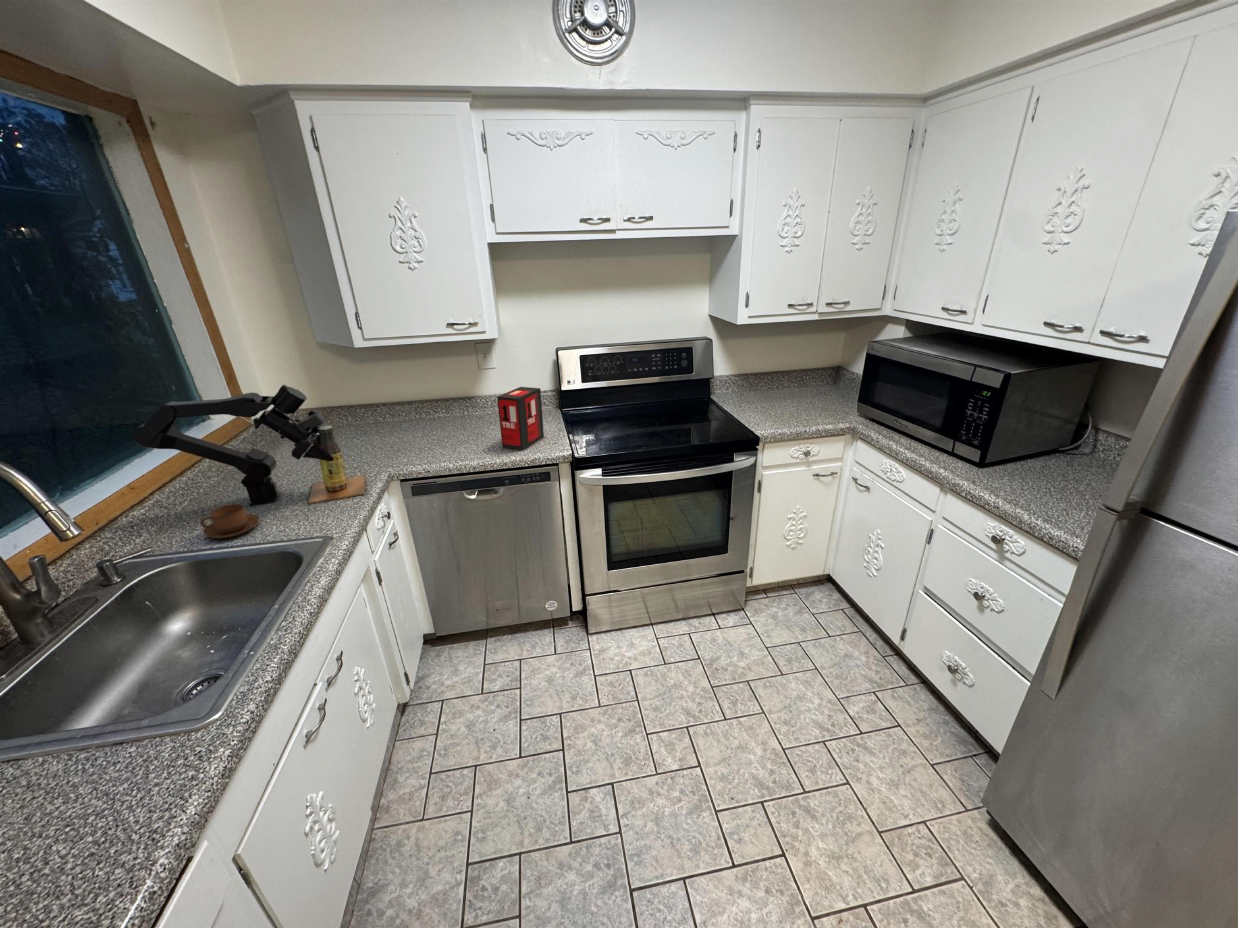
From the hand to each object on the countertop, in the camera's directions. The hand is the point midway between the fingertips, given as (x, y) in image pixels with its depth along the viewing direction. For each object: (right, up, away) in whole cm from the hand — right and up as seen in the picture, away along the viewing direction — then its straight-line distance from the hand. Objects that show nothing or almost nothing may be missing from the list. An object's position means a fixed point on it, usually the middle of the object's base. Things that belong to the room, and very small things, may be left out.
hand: (335, 456), depth 154 cm
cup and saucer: (-16, -20, -20) cm, 32 cm away
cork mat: (-1, -11, +4) cm, 11 cm away
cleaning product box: (+50, +6, +44) cm, 66 cm away
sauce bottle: (-1, -10, +4) cm, 11 cm away
